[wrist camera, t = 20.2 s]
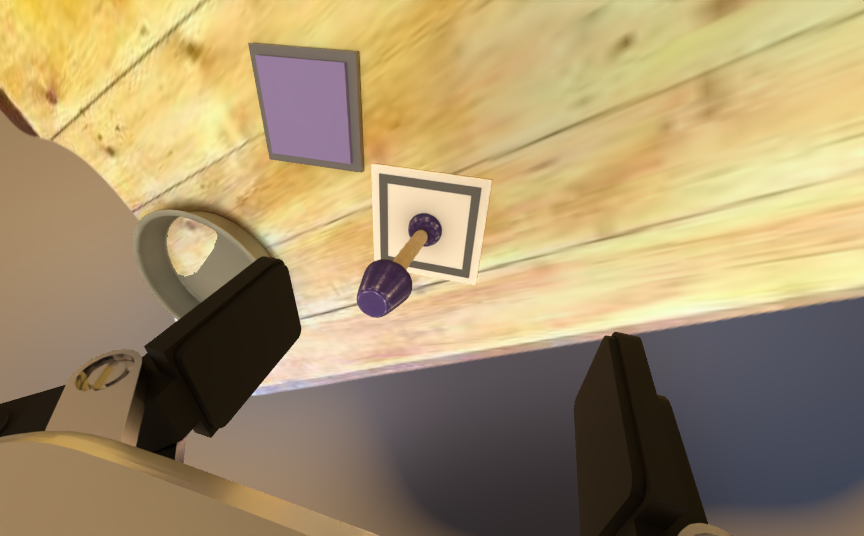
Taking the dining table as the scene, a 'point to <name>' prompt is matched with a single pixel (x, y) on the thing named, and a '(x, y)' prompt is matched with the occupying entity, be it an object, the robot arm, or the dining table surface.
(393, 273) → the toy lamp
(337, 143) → the ink pad
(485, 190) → the marked card
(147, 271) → the cake pan
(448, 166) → the dining table surface
